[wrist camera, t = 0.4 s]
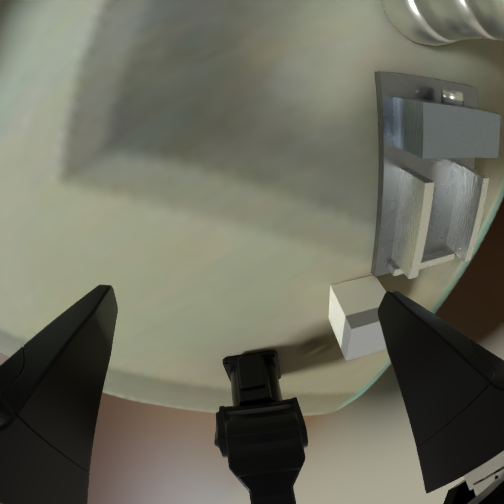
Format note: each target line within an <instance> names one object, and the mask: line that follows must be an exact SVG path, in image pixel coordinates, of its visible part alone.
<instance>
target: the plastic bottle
mask: <svg viewBox="0 0 504 504" xmlns="http://www.w3.org/2000/svg"><path fill="white" fill-rule="evenodd" d="M382 4H383V8H384V11H385V13H386V15H387V17H388V19H389V20H390V22H391V23H392V24H393V26H394V27H395V28H396V29H397V30H398V31H399V32H400V33H402V34H403V35H404V36H405V37H407V38H408V39H410V40H412V41H414V42H417V43H420V44H425V45H430V46H440V45H445V44H451V43H454V42H457V41H459V40H470V39H492V40H501V41H504V0H382Z"/></svg>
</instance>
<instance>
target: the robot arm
mask: <svg viewBox="0 0 504 504" xmlns="http://www.w3.org/2000/svg"><path fill="white" fill-rule="evenodd" d="M117 312H118V307H117V302H116V298H115V294H114V290H113V287H112V286H111V285H99V286H97V287H96V288H94V289H93V290H92V291H90V292H89V293H88V294H86V295H85V296H84V297H83V298H81V299H80V300H79V301H77V302H76V303H75V304H74V305H72V306H71V307H70V308H68V309H67V310H66V311H65V312H63V313H62V314H61V315H60V316H58V317H57V318H56V319H55V320H53V321H52V322H51V323H50V324H49V325H47V326H46V327H45V328H44V329H43V330H41V331H40V332H39V333H38V334H37V335H35V336H34V337H33V338H32V339H31V340H29V341H28V342H27V343H26V344H25V345H24V347H21V348H20V349H19V350H18V351H17V352H16V353H14V354H13V355H12V356H11V357H10V358H9V359H7V360H6V361H5V362H4V363H3V364H1V365H0V504H87V501H88V485H89V471H90V463H91V455H92V447H93V440H94V433H95V427H96V421H97V416H98V410H99V405H100V400H101V395H102V390H103V386H104V381H105V377H106V373H107V369H108V364H109V360H110V356H111V350H112V343H113V337H114V330H115V324H116V318H117ZM378 318H379V321H380V325H381V329H382V332H383V336H384V340H385V344H386V348H387V351H388V354H389V357H390V360H391V363H392V366H393V368H394V372H395V375H396V378H397V381H398V384H399V387H400V390H401V393H402V396H403V400H404V403H405V406H406V410H407V413H408V417H409V420H410V424H411V428H412V432H413V435H414V439H415V443H416V446H417V452H418V456H419V460H420V466H421V470H422V475H423V480H424V485H425V490H426V493H429V492H431V491H434V490H436V489H438V488H440V487H442V486H444V485H446V484H448V483H451V482H452V481H454V480H456V479H458V478H460V477H462V476H464V478H465V480H463V481H462V482H460V483H459V484H457V485H456V486H454V487H453V488H451V489H450V490H448V493H447V496H446V498H445V501H444V503H443V504H504V360H502V359H501V358H499V357H497V356H496V355H494V354H493V353H491V352H489V351H488V350H486V349H485V348H483V347H482V346H480V345H479V344H477V343H476V342H475V341H473V340H472V339H469V337H467V336H466V335H464V334H463V333H461V332H460V331H458V330H457V329H455V328H454V327H452V326H451V325H449V324H448V323H446V322H445V321H443V320H442V319H440V318H439V317H437V316H436V315H434V314H433V313H431V312H430V311H428V310H427V309H425V308H424V307H422V306H420V305H419V304H417V303H416V302H414V301H413V300H411V299H409V298H408V297H406V296H405V295H403V294H402V293H400V292H398V291H387V292H386V293H385V295H384V297H383V299H382V301H381V303H380V305H379V307H378ZM223 365H224V368H225V370H226V372H227V375H228V377H229V379H230V381H231V387H232V400H233V406H228V407H224V406H219V412H217V413H216V433H215V445H216V446H217V447H218V448H220V451H221V453H222V456H223V457H224V458H225V457H228V463H229V468H230V470H231V471H232V472H233V474H234V475H235V476H236V477H237V478H238V480H239V481H240V482H241V483H242V484H243V485H244V487H245V488H246V489H247V490H248V491H249V493H250V500H251V504H296V501H295V495H294V490H293V485H294V483H295V481H296V479H297V477H298V474H299V472H300V470H301V468H302V466H303V463H304V461H305V453H304V447H307V445H308V438H307V430H306V426H305V422H304V419H303V416H302V413H301V410H300V407H299V404H298V401H297V398H296V397H295V398H292V399H287V400H282V395H281V390H280V385H279V379H280V378H281V376H280V369H279V362H278V356H277V352H276V351H275V350H272V351H267V352H261V353H255V354H250V355H244V356H237V357H231V358H225V359H223Z"/></svg>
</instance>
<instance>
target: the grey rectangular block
mask: <svg viewBox="0 0 504 504" xmlns="http://www.w3.org/2000/svg"><path fill="white" fill-rule="evenodd" d="M385 293H386V291H385V289H384V288H383V286H382V285H381V283H380V282H379V281H378V279H377V278H376V277H374V276H373V275H372V276H368V277H363V278H359V279H355V280H351V281H346V282H342V283H338V284H333V285H330V303H329V321H330V323H331V326H332V328H333V331H334V333H335V336H336V338H337V340H338V343H339V345H340V348H341V350H342V353H343V356H344V358H345V361H348V360H351V359H355V358H358V357H362V356H365V355H368V354H371V353H374V352H378V351H381V350H384V349H387V348H386V344H385V340H384V336H383V332H382V329H381V325H380V321H379V318H378V307H379V305H380V303H381V301H382V299H383V297H384V295H385Z"/></svg>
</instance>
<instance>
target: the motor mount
mask: <svg viewBox="0 0 504 504" xmlns="http://www.w3.org/2000/svg"><path fill="white" fill-rule="evenodd" d="M375 81H376V92H377V106H378V126H379V185H378V206H377V221H376V233H375V244H374V253H373V262H372V269H371V273H372V274H373V276H374V277H377V276H381V275H385V274H389V273H391V274H392V275H393V276H397V275H401V274H405V275H406V276H407V278H408V279H412V278H415V277H417V276H418V273H419V269H422V268H426V267H429V266H433V265H436V264H440V263H443V262H446V261H450V260H453V259H454V255H458V256H459V257H460V258H461V259H462V260H463V261H464V262H466V261H469V260H470V259H471V256H472V252H473V249H474V246H475V242H476V238H477V235H478V231H479V227H480V223H481V219H482V214H483V210H484V205H485V200H486V194H487V189H488V183H489V178H488V177H487V176H485V175H483V174H481V173H480V172H478V171H476V170H474V167H475V158H498V153H499V141H500V123H501V115H499V114H496V113H493V112H489V111H486V110H483V109H479V108H478V95H477V88H474V87H470V86H466V85H462V84H458V83H454V82H449V81H444V80H439V79H434V78H428V77H422V76H415V75H408V74H399V73H390V72H375Z"/></svg>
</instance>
